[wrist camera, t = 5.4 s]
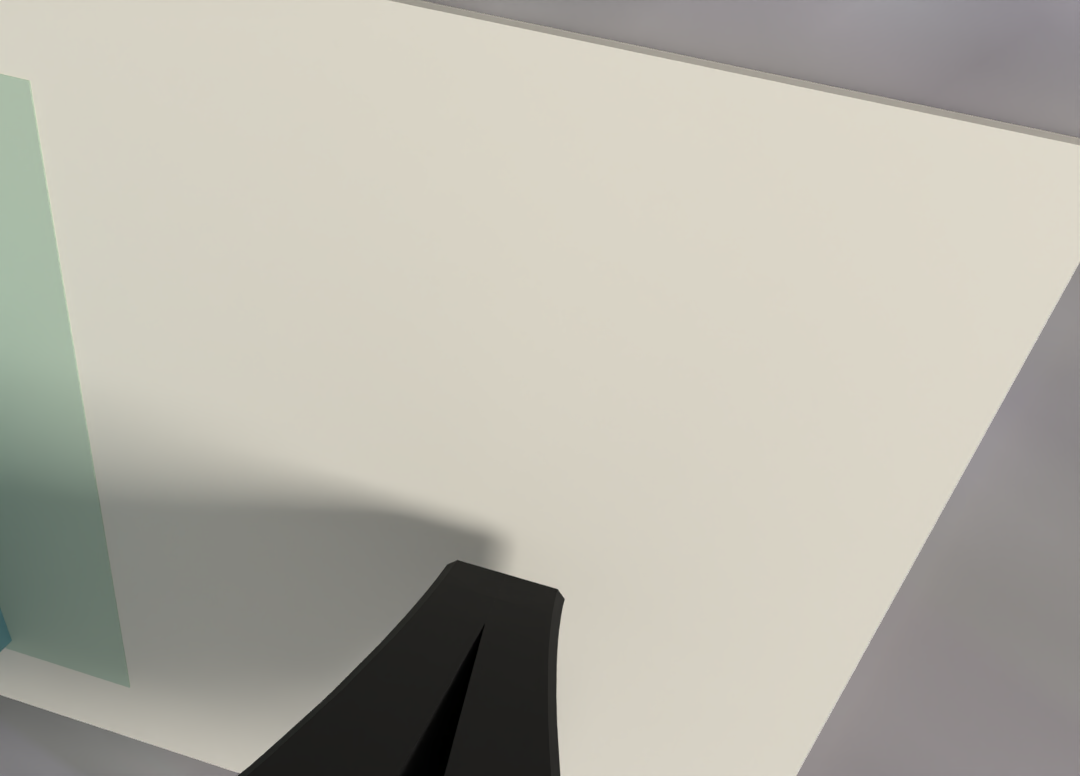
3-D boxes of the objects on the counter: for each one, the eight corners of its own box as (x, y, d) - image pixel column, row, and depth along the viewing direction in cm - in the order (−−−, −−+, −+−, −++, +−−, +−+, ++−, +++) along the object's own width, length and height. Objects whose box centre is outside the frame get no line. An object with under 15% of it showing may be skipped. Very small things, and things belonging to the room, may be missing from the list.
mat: (1118, 146, 7) (1139, 157, 7) (713, 903, 14) (712, 929, 13) (-818, -259, 9) (-879, -266, 9) (-349, 559, 16) (-374, 573, 16)
